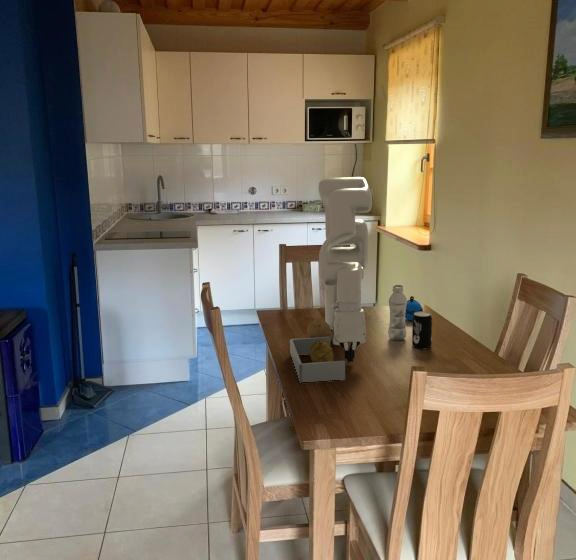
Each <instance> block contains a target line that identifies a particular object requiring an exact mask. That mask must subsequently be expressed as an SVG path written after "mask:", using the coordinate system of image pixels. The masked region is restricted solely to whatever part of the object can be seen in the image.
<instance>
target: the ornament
mask: <svg viewBox="0 0 576 560" xmlns="http://www.w3.org/2000/svg"><path fill="white" fill-rule="evenodd" d="M419 311H424V309H423V306H422V304H421V303H420V302H419V301H417V300H415V296H412V295H411V296H410V297H409V299H407V305H406V312H405V320H407V321H410V322H411V321H412V322H413V316H414V313H415V312H419Z"/></svg>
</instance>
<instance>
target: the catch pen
mask: <svg viewBox="0 0 576 560" xmlns="http://www.w3.org/2000/svg"><path fill="white" fill-rule="evenodd" d="M318 340H324V341H327V342H328V343H329V344H330V345H331V341H330V336H329V337H315V338H308V337H305V338H290V339H289V355H290V354H291V357H292V360H293V362H292V364H293V363H294V365H293V367H294V366H295V368H294V370H295V369H296V371H295V373H296V372H297V374H296V376H297V375H298V377H297V379H298V378H299V379H298V382H299V381H300V382H312V381H328V380H329V381H328V382H333V381H332V380H340V381H345V380H346V361H345V360H334V361H330V362H317V363H312V362H307V363H302V360H301V358H300V356H299V355H298V354H310V348H311V346H312V344H313V343H314V342H316V341H318ZM291 357H290V358H291ZM292 360H291V361H292ZM330 380H331V381H330ZM300 382H299V383H300Z"/></svg>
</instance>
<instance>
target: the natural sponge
mask: <svg viewBox="0 0 576 560" xmlns="http://www.w3.org/2000/svg"><path fill="white" fill-rule="evenodd" d="M306 335H307V338H315V337H329V336H330V342H331V341H333V338H334V337H333V331H331V329H330V327H329V325H328V324H327V323H326V322H325V320H324V319H321V318H317V319H313V321H311V322H310V323H309V324H308V326H307V328H306Z"/></svg>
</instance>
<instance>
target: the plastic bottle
mask: <svg viewBox="0 0 576 560" xmlns="http://www.w3.org/2000/svg"><path fill="white" fill-rule="evenodd" d="M391 291H392V293H391V295H390V296H389V298H388V307H389V325H388V330H387V335H388V338H389V339H390V340H393V341H403V340H405V339H406V336H407V326H406V318H405V312H406V305H407V301H408V299H407V297H406V295H405V293H403V292H404V285H402V284H393V285H392V290H391Z"/></svg>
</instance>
